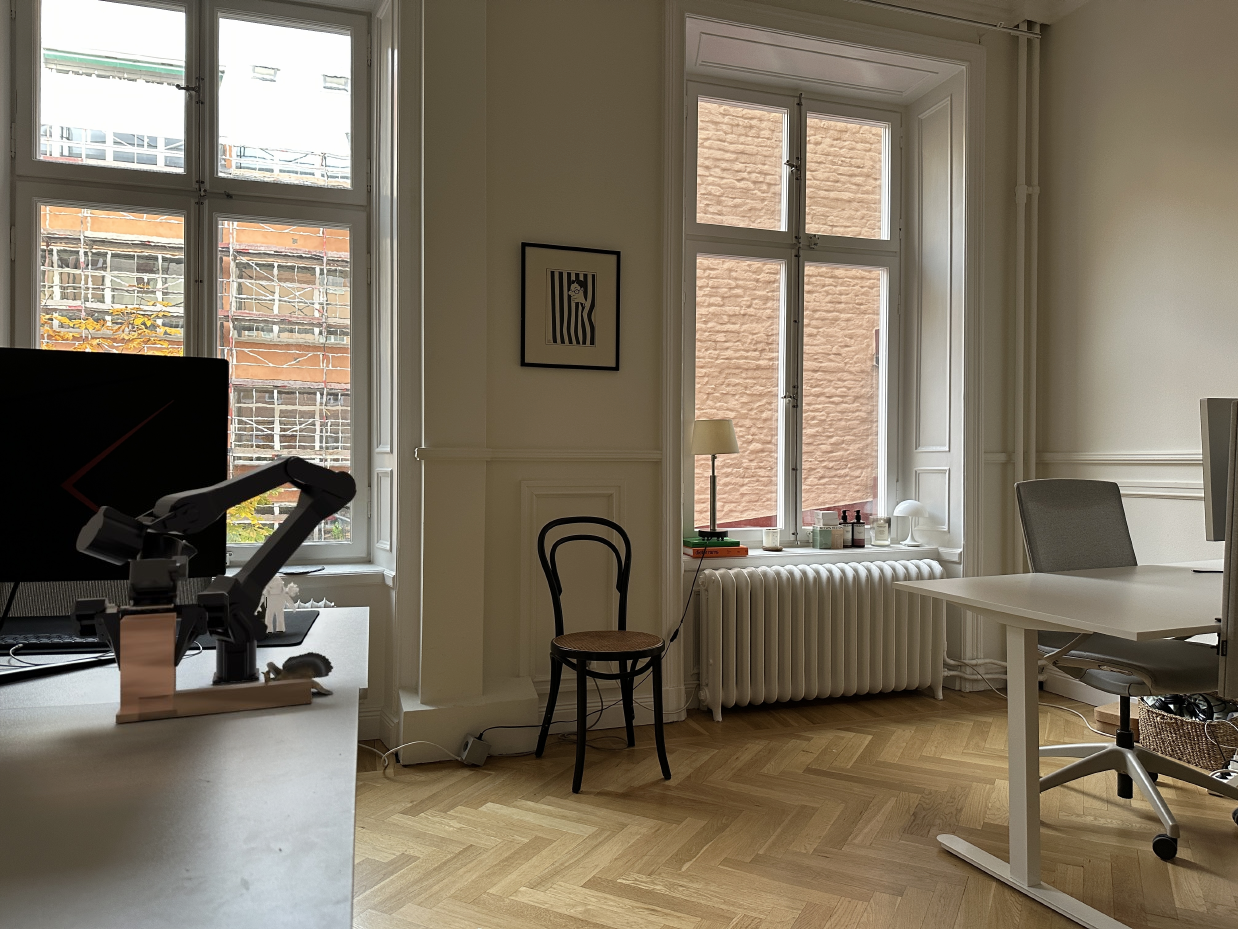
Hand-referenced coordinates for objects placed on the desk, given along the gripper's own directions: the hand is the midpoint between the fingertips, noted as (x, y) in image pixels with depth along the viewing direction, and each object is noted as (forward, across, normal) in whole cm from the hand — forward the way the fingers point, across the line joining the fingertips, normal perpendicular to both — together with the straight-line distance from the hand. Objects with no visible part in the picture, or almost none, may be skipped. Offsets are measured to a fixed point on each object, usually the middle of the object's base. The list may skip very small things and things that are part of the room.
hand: (148, 667), depth 110 cm
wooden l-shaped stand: (+2, +8, +7) cm, 11 cm away
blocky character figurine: (-35, +16, +45) cm, 59 cm away
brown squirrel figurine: (+3, +18, +7) cm, 20 cm away
